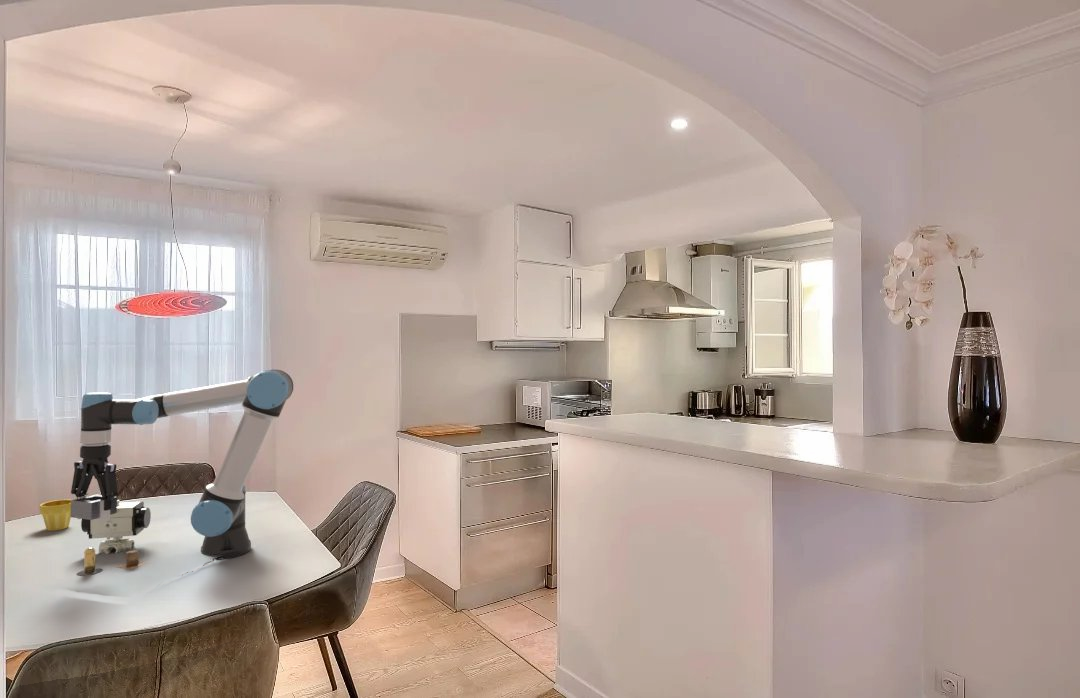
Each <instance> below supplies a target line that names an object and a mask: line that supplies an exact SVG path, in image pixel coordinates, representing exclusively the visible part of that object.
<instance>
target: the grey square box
mask: <svg viewBox="0 0 1080 698" xmlns="http://www.w3.org/2000/svg"><path fill="white" fill-rule="evenodd" d="M87 496H88V497H84V498H79V499H77V498H75V499H70V500H71V516H70V517H71V518H74V519H77V518H81V519H80V520H82V519H88V520H93V519H96V518H100V499H102V495H101V494H93V495H87ZM117 500H118V496H117V497H114V498H112V502H111V510H110V515H111V514H115V513H117Z"/></svg>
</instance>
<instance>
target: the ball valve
mask: <svg viewBox="0 0 1080 698" xmlns="http://www.w3.org/2000/svg"><path fill="white" fill-rule="evenodd" d="M151 514H152V513H151V509H150V508H149V507H146V506H145V501H133V502H120V499H117V513H115V514H111V515H110V520H108V521H104V522H99V519H100V518H96V519H93V520H88V519H81V522H80V527H81V531H82V532H83V533H86V534H87V536H88V540H90V539H93V540H94V539H105V538H106V539H105V541H101V542H100V543H99V545H98V553H99V554H101V553H105V554H106V555H108V554H110V553H111V552H112V551H113V549H115V552H114V553H115V554H117V553H119V552H122V551H127V550H132V548H134V547H135V546H136V545H135V543H136V542H135V540H134V538H133V539H130V538H124V537H131V536H132V537H134V536H137V535H138V534H140V533H142V531H143V530H144V529H147V528H149V525H150V524H151V519H152V518H151Z"/></svg>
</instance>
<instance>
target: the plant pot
mask: <svg viewBox="0 0 1080 698" xmlns="http://www.w3.org/2000/svg"><path fill="white" fill-rule="evenodd" d="M71 500H72V499H56V500H51V501H47V502H43V503H41V504H39V514H40V515H41V516H42V518H43V522H44V525H45V529H46V531H49V532H50V531H51V532H52V531H53V532H54V531H55V532H56V531H60V530H65V529H67V528H69V527H70V522H71V518H72V517H70V516H71Z"/></svg>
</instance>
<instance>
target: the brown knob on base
mask: <svg viewBox="0 0 1080 698" xmlns="http://www.w3.org/2000/svg"><path fill="white" fill-rule="evenodd" d="M139 553H140V552H139V550H138V549H136V550H135V549H133V550H129V551H127V552H125V556H126V557H125V561H126V562H125V563H124V564H121V565H118V566H115V568H117V569H126V570H133V569H135V568H138V567H141V566H143V565H146V564H149V563H150V562H148V561H140V560H139Z"/></svg>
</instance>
